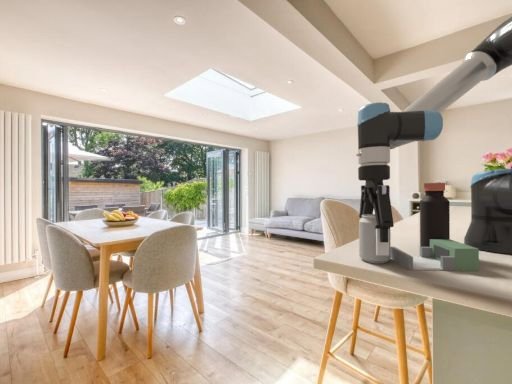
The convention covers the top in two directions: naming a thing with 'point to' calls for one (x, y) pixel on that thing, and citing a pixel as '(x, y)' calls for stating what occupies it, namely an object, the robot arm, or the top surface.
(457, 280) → the top surface
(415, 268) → the green and grey holder
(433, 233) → the bottle
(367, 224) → the can
